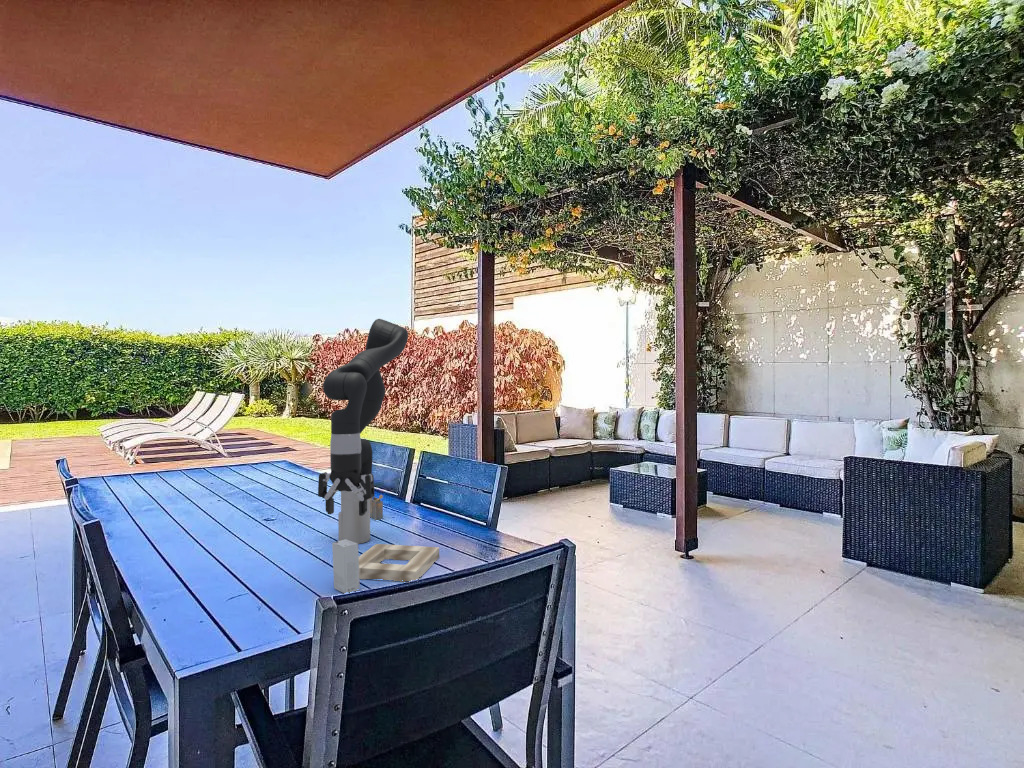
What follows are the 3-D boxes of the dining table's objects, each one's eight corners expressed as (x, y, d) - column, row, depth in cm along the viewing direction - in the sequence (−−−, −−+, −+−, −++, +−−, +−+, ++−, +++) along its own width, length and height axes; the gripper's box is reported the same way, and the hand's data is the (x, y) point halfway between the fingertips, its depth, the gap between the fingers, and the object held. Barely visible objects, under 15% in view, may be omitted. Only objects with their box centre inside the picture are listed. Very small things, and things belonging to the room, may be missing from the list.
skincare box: (360, 590, 147) (360, 543, 146) (344, 595, 143) (344, 547, 143) (347, 584, 151) (347, 538, 150) (332, 588, 147) (331, 542, 147)
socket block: (344, 578, 155) (344, 567, 155) (376, 553, 176) (376, 543, 176) (415, 582, 152) (415, 571, 152) (439, 557, 172) (439, 547, 172)
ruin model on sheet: (383, 521, 215) (383, 495, 215) (376, 522, 213) (375, 496, 213) (373, 514, 224) (373, 490, 224) (365, 516, 223) (365, 490, 222)
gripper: (312, 452, 144) (313, 517, 144) (366, 453, 141) (366, 519, 142) (326, 448, 151) (327, 509, 151) (378, 449, 149) (378, 511, 149)
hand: (346, 514), depth 147 cm, fingers open, 8 cm apart
